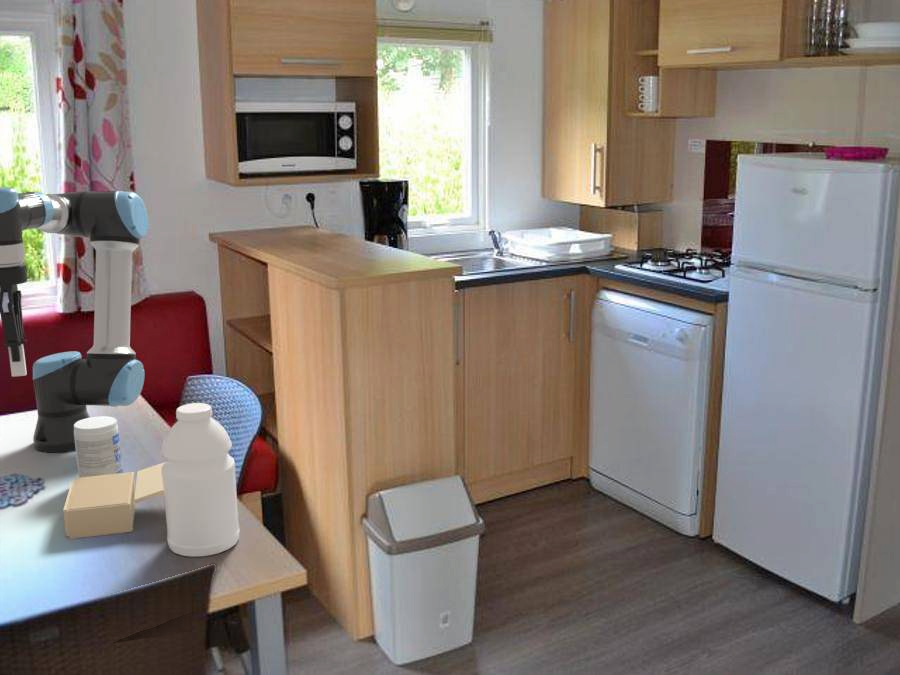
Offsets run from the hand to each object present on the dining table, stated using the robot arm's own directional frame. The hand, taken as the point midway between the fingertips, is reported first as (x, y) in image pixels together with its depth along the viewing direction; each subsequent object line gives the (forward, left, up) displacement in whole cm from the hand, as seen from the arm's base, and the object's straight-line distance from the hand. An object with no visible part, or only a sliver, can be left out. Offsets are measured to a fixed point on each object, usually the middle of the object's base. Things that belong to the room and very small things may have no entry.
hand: (19, 375), depth 198 cm
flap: (+11, +22, -23) cm, 34 cm away
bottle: (+29, +35, -30) cm, 54 cm away
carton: (+11, +15, -29) cm, 35 cm away
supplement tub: (-9, +13, -30) cm, 34 cm away
